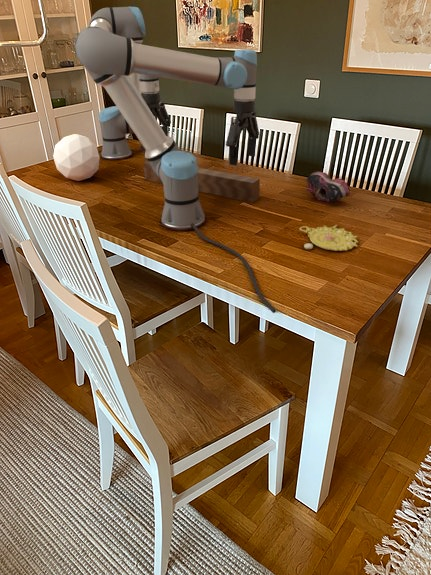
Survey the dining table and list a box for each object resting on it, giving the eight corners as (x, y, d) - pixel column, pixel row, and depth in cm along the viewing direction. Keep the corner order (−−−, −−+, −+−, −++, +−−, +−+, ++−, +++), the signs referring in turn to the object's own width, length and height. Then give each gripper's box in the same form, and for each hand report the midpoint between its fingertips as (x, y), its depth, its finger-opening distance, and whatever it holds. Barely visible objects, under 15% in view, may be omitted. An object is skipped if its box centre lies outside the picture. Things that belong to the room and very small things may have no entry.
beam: (259, 198, 173) (259, 178, 169) (252, 202, 170) (252, 182, 165) (153, 176, 199) (151, 159, 195) (145, 179, 195) (143, 162, 191)
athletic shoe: (315, 170, 179) (291, 178, 175) (351, 165, 160) (325, 173, 156) (321, 198, 182) (297, 206, 178) (356, 196, 163) (330, 204, 159)
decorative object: (343, 255, 128) (285, 234, 139) (342, 262, 130) (284, 241, 140) (372, 230, 142) (317, 213, 152) (371, 237, 143) (316, 219, 153)
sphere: (86, 196, 198) (71, 170, 180) (54, 175, 203) (36, 147, 184) (114, 167, 203) (101, 138, 185) (82, 146, 208) (67, 116, 189)
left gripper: (136, 98, 165) (142, 155, 177) (176, 87, 182) (180, 140, 194) (121, 96, 168) (128, 152, 180) (162, 86, 185) (166, 137, 197)
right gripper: (252, 93, 165) (250, 151, 176) (216, 104, 148) (216, 167, 159) (270, 95, 162) (266, 154, 173) (235, 106, 144) (233, 170, 155)
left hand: (155, 146), depth 187 cm, fingers open, 13 cm apart
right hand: (242, 160), depth 166 cm, fingers open, 13 cm apart
